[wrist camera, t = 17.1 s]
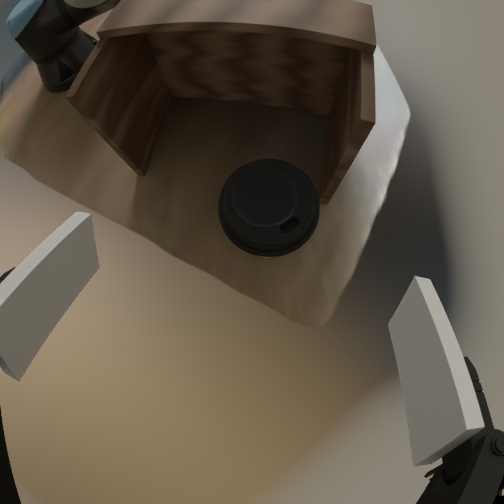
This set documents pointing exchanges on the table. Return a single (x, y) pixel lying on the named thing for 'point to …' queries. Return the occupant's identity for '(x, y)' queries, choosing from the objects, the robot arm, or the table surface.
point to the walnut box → (231, 69)
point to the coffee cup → (268, 208)
